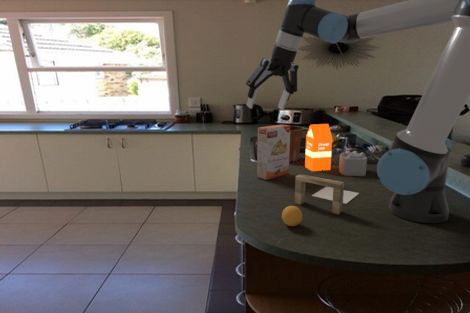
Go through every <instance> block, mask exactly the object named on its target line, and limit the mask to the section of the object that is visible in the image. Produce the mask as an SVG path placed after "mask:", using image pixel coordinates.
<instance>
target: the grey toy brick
mask: <svg viewBox="0 0 470 313" xmlns="http://www.w3.org/2000/svg"><path fill="white" fill-rule="evenodd" d="M367 162H368V157H367V155H366V153H364V152H360V153H359V152H358V151H357V150H353V151H352V152H351V151H350V150H346V152H345V151H343V152H341V153H340V154H339V164H338V172H339V173H340V174H341V175H343V176H346V177H347V176H348V177H349V176H350V177H354V176H355V177H364V176H366V175H367V174H366V173H367V165H368V164H367Z"/></svg>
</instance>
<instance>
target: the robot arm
mask: <svg viewBox="0 0 470 313" xmlns="http://www.w3.org/2000/svg"><path fill="white" fill-rule="evenodd" d="M450 23H454V28H453V31H452V33H451V34H450V38H449V39H448V41H447V43H446V45H445V48H444V50H443V52H442V54H441V56H440V58H439V60H438V62H437V65H436V66H435V68H434V71H433V73H432V75H431V77H430V78H429V81H428V83H427V85H426V87H425V89H424V92H423V93H422V96H421V98H420V100H419V102H418V104H417V106H416V108H415V110H414V113H413V114H412V116H411V119H410V120H409V123H408V125H407V127H406V129H403V130H400V131H398V132H397V133H396V135H395V137H394V139H393V141H392V143H391V146H390V147H389V150H388V151H386V152H384V154H382V156H381V157H380V158H379V160H378V162H377V165H376V166H377V167H376V173H377V176H378V178H379V179H380V183H381V184H382V185H383V186H384V187H385V188H386V189H388V190H389V191H390V192H393V194H392V197H391V198H390V201H389V206H388V209H389V211H390V212H391V213H392V214H393V215H395V216H397V217H398V218H401V219H403V220H404V219H405V220H408V221H411V222H416V223H423V224H439V223H440V224H441V223H444V222H446V221H448V219H449V214H450V209H449V204H448V201H447V197H446V193H445V192H446V190H445V189H446V185H447V184H446V182H447V176H448V170H449V162H450V158H451V157H450V156H451V152H452V141H451V140H450V138H448V136H449V134H450V133H451V131H452V129H453V127H454V125H455V124H456V122H457V120H458V119H459V117H460V114H461V112H462V111H463V109H464V107H465V105H466V104H467V101H468V99H469V98H470V0H405V1H401V2H398V3H393V4H389V5H385V6H382V7H376V8H373V9H370V10H369V9H368V10H365V11H362V12H361V11H360V12H357V13H353V14H349V15H345V14H341V13H338V12H335V11H331V10H327V9H325V8H321V7H318V6H316V0H288V3H287V5H286V9H285V12H284V16H283V18H282V22H281V26H280V28H279V30H278V33H277V37H276V39H275V44H274V45H273V48H272V52H271V58H270V59H269V60H268V59H267V58H264V57H263V58H261V61H260V63H259V64H258V66H257V67H256V68H255V70H254V72H253V73H252V74H251V75H250V76H249V78H248V79H247V80H246V81H245V85H246V86H248V87H249V89H248V92H247V97H248V99H247V102H246V106H247V107H248V108H249V109H253V106H254V105H255V104H254V103H255V100H256V98H257V95H258V91H259V90H258V88H259V87H261V86H262V84H263V83H265V81H267V80H268V79H270V78H272V77H273V76H274V77H281V78H282V81H283V84H284V87H285V90H284V89H283V91H282V94H281V97H280V100H279V101H278V105H277V108H278V109H279V110H281V111H284V110H285V107H286V104H287V102H288V101H289V100H290V97H291V95H293V94H294V93H296V92H298V70H299V67H300V66H299V65H298V64H296V63H295V59H296V57H297V56H296V55H297V54H298V52H297V50H299V48H300V45H301V43H302V39H303V37H304V35H305V34H308V35H310V36H313V37H315V38H318V39H320V40H321V41H323V42H327V43H330V44H337V43H338V42H339V43H344V44H352V43H353V44H354V43H355V42H357V41H359V40H362V39H363V40H364V39H367V38H373V37H379V36H385V35H388V34H395V33H401V32H407V31H410V30H418V29H422V28H427V27H433V26H438V25H445V24H450Z"/></svg>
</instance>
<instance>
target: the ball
mask: <svg viewBox="0 0 470 313" xmlns="http://www.w3.org/2000/svg"><path fill="white" fill-rule="evenodd" d="M281 219H282V221H283V223H284V224H286V226H288V227H297V226H298V225H300V224H301V222H302V221H303V212H302V210H301V209H300V208H299V207H298V206H294V205H288V206H287V207H285V208H283V211H282V213H281Z"/></svg>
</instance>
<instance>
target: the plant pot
mask: <svg viewBox="0 0 470 313" xmlns="http://www.w3.org/2000/svg"><path fill="white" fill-rule="evenodd" d="M289 126H290V150H289V163H290V162H291V161H293V162H296V161H299V157H300V152H301V151H300V150H301V143H302V137H303V133H304V130H305V127H302V126H300V125H299V126H298V125H289Z"/></svg>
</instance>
